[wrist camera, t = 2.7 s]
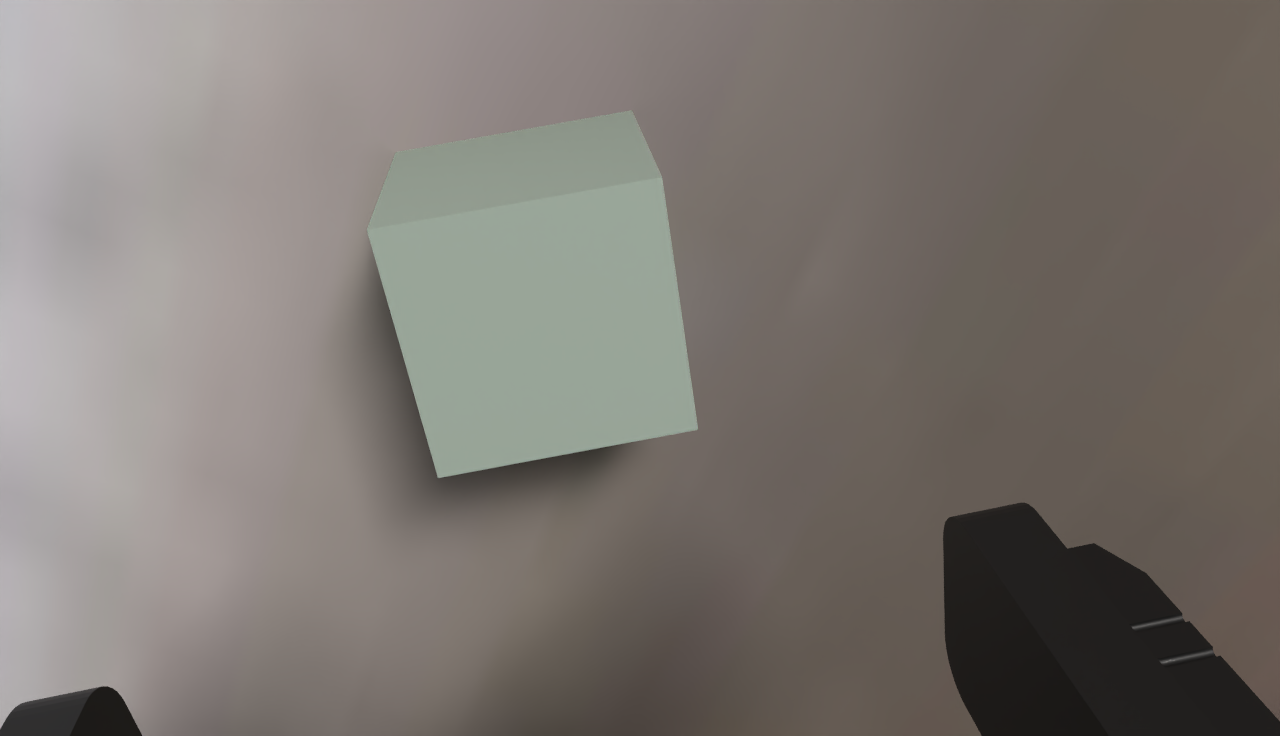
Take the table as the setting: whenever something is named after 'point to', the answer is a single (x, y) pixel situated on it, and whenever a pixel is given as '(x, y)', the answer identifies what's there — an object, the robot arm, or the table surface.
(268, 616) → the table surface
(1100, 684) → the robot arm
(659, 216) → the sage cube
